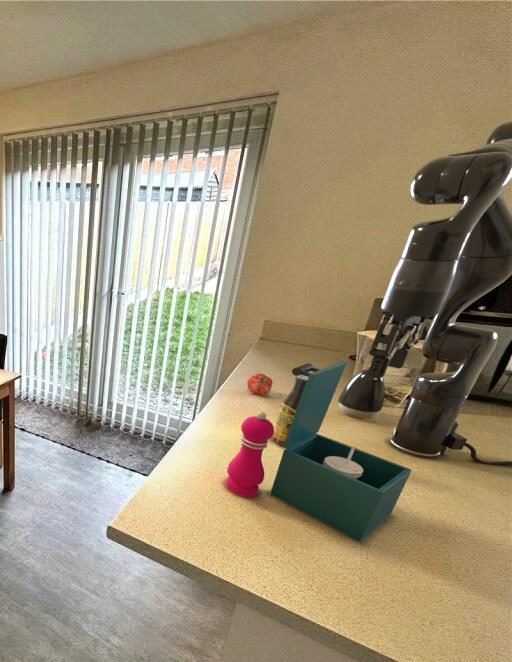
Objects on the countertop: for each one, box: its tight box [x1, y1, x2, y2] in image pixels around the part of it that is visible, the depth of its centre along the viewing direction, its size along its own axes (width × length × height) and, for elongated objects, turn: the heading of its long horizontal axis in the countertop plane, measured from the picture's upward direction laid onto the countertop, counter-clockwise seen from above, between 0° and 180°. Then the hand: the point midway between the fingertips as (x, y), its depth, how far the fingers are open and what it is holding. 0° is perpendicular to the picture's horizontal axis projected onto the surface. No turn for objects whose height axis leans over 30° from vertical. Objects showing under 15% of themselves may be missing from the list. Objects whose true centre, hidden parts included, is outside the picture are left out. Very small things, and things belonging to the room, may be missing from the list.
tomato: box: [246, 372, 273, 396], centre depth 137 cm, size 7×7×10 cm
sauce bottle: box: [270, 375, 309, 447], centre depth 104 cm, size 6×6×20 cm
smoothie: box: [323, 445, 363, 480], centre depth 82 cm, size 6×6×14 cm
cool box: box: [270, 432, 413, 542], centre depth 83 cm, size 17×14×12 cm
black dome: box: [337, 368, 386, 420], centre depth 119 cm, size 10×10×15 cm
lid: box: [282, 360, 348, 450], centre depth 85 cm, size 17×14×6 cm
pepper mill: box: [225, 411, 274, 498], centre depth 87 cm, size 7×7×20 cm
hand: (384, 371), depth 75 cm, fingers open, 8 cm apart
